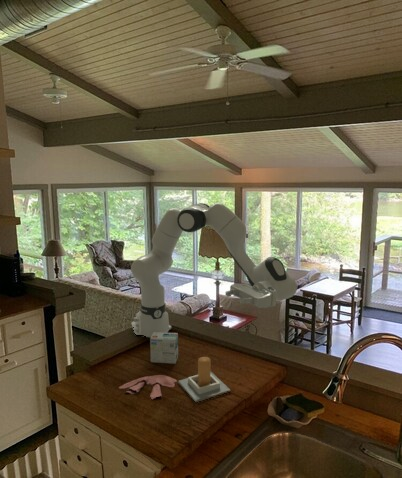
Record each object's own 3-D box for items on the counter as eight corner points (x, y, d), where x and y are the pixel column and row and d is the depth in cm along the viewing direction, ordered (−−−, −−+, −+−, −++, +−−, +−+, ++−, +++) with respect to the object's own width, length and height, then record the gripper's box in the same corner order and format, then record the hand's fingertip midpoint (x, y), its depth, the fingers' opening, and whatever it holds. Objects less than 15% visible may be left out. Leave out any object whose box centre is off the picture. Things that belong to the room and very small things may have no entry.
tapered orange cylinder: (195, 383, 140) (196, 358, 138) (206, 380, 142) (207, 355, 140) (201, 389, 136) (201, 364, 134) (212, 387, 138) (212, 361, 136)
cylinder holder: (178, 383, 142) (178, 375, 141) (211, 374, 148) (211, 366, 148) (195, 403, 130) (195, 395, 129) (230, 392, 136) (230, 384, 136)
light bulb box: (178, 356, 162) (178, 332, 160) (175, 364, 156) (175, 339, 154) (153, 354, 163) (153, 331, 161) (150, 362, 157) (149, 338, 155)
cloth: (183, 379, 146) (183, 373, 145) (161, 414, 125) (161, 407, 125) (134, 371, 151) (134, 365, 151) (105, 402, 131) (105, 396, 130)
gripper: (247, 278, 161) (219, 282, 155) (278, 292, 143) (248, 297, 137) (246, 292, 162) (218, 297, 156) (278, 308, 144) (248, 314, 138)
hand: (233, 297), depth 146 cm, fingers open, 8 cm apart
